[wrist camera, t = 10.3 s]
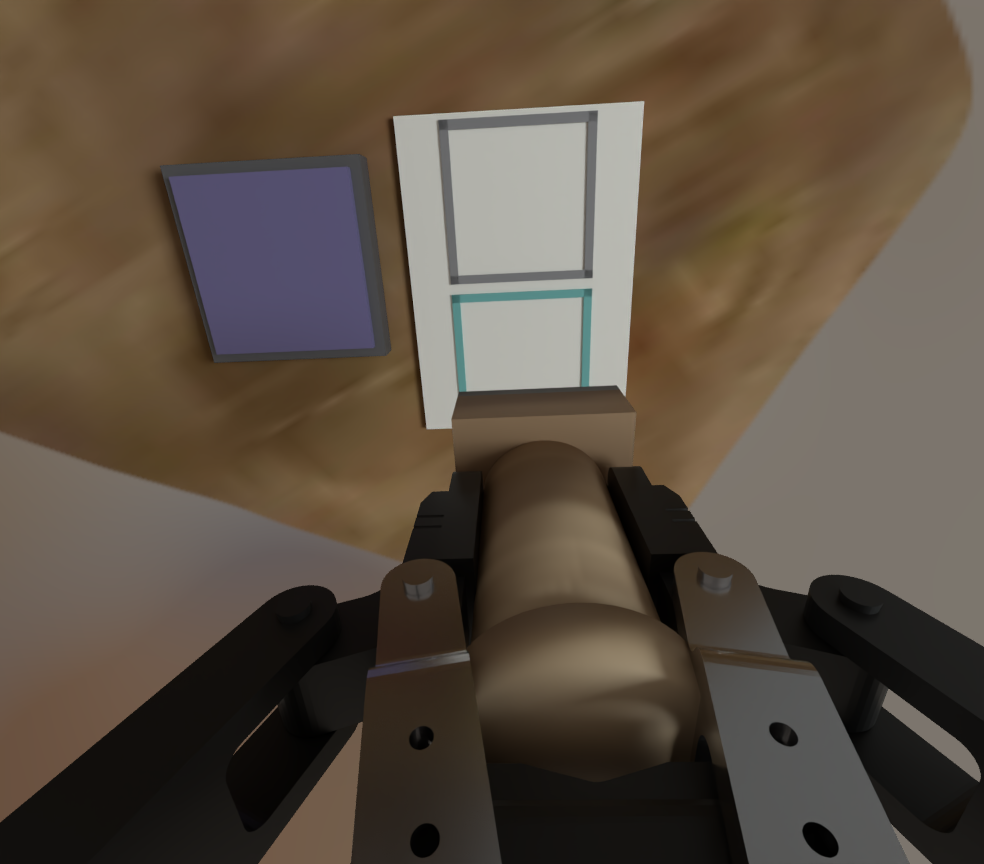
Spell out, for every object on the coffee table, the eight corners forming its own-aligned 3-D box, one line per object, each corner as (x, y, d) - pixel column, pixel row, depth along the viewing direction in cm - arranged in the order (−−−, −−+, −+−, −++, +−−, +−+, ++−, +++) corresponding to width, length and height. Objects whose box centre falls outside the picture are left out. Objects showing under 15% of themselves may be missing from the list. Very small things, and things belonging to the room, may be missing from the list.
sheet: (394, 117, 22) (392, 116, 21) (642, 102, 21) (644, 100, 21) (427, 427, 27) (426, 429, 27) (622, 420, 27) (624, 422, 27)
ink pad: (176, 168, 23) (153, 164, 21) (366, 158, 22) (356, 152, 21) (226, 356, 26) (209, 364, 25) (391, 350, 26) (384, 357, 24)
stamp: (458, 391, 14) (388, 645, 5) (616, 385, 14) (800, 638, 5) (469, 524, 16) (429, 874, 7) (609, 520, 15) (738, 874, 7)
